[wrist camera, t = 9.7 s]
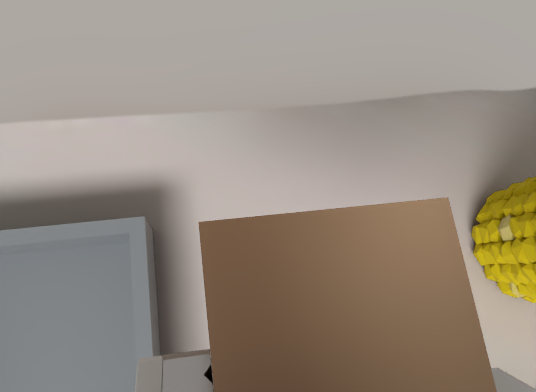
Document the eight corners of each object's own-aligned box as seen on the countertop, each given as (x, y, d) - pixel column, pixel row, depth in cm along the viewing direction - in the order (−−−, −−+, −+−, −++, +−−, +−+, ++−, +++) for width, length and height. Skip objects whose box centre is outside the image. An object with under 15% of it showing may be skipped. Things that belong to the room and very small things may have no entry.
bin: (152, 229, 32) (144, 216, 28) (168, 473, 28) (161, 496, 24) (-57, 250, 30) (-96, 239, 26) (-75, 519, 26) (-125, 553, 22)
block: (309, 269, 17) (447, 197, 7) (327, 382, 15) (517, 475, 6) (204, 283, 16) (198, 221, 6) (215, 401, 15) (227, 539, 5)
